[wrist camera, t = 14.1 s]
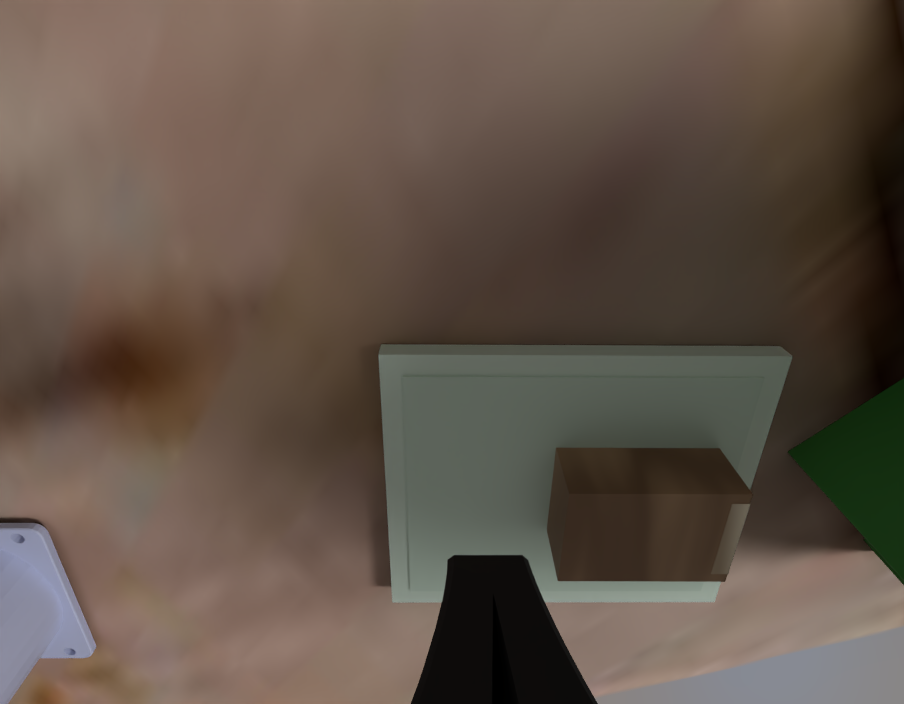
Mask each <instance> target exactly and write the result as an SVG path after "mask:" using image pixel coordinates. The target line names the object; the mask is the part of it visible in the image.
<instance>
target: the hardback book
mask: <svg viewBox="0 0 904 704" xmlns="http://www.w3.org/2000/svg"><path fill="white" fill-rule="evenodd" d="M788 453H789V454H790V455H791V456H792V458H793V459H794V460H795V461H796V462H797V463H798V465H799V466H800V467H801V468H802V469H803V470H804V471H805V472H806V473H807V475H808V476H809V477H810V478H811V479H812V480H813V481H814V482H815V483H816V485H817V486H818V487H819V488H820V489H821V490H822V491H823V492H824V493H825V494H826V496H827V497H828V498H829V499H830V500H831V501H832V502H833V503H834V504H835V506H836V507H837V508H838V509H839V510H840V511H841V512H842V513H843V514H844V516H845V517H846V518H847V519H848V520H849V521H850V522H851V523H852V524H853V525H854V527H855V528H856V529H857V530H858V531H859V532H860V533H861V534H862V535H863V537H864V538H865V539H864V541H865V542H866V543H867V544H868V546H869V547H870V548H871V549H872V550H873V551H874V552H875V554H876V555H877V556H878V557H879V558H880V559H881V560H882V561H883V562H884V564H885V565H886V566H887V567H888V568H889V569H890V570H891V571H892V572H893V574H894V575H895V576H896V577H897V578H898V579H899V580H900V581H901V582H902V584H903V585H904V378H903V379H902V380H900V381H899V382H897V383H895V384H894V385H892V386H891V387H889V388H887V389H886V390H884V391H883V392H881V393H880V394H878V395H876V396H875V397H873V398H872V399H870V400H869V401H867V402H865V403H864V404H862V405H861V406H859V407H858V408H856V409H854V410H853V411H851V412H850V413H848V414H846V415H845V416H843V417H842V418H840V419H839V420H837V421H835V422H834V423H832V424H831V425H829V426H828V427H826V428H824V429H823V430H821V431H820V432H818V433H817V434H815V435H813V436H812V437H810V438H809V439H807V440H806V441H804V442H802V443H801V444H799V445H798V446H796V447H794V448H793V449H791V450H790V451H788Z"/></svg>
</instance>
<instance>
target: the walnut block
mask: <svg viewBox="0 0 904 704" xmlns="http://www.w3.org/2000/svg"><path fill="white" fill-rule="evenodd" d="M752 497H753V494H752V492H751V491H750V489H749V488H748V487H747V485H746V484H745V483H744V481H743V480H742V478H741V477H740V476H739V474H738V473H737V472H736V470H735V469H734V467H733V466H732V465H731V463H730V462H729V460H728V459H727V458H726V456H725V455H724V454H723V452H722V451H721V449H720V448H556V452H555V461H554V470H553V479H552V487H551V496H550V505H549V514H548V523H547V534H548V538H549V543H550V548H551V552H552V557H553V562H554V566H555V571H556V576H557V580H558V581H659V582H725V580H726V577H727V574H728V572H729V569H730V566H731V563H732V560H733V557H734V554H735V551H736V548H737V544H738V541H739V538H740V535H741V532H742V529H743V526H744V523H745V520H746V517H747V514H748V510H749V507H750V503H751V500H752Z"/></svg>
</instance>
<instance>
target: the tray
mask: <svg viewBox="0 0 904 704" xmlns="http://www.w3.org/2000/svg"><path fill="white" fill-rule="evenodd" d="M378 356H379V374H380V391H381V409H382V427H383V445H384V462H385V480H386V498H387V516H388V533H389V551H390V569H391V587H392V602H442V599H443V594H444V589H445V582H446V576H447V560H448V559H449V558H451V557H452V556H453V555H523V556H524V557H525V558H526V559H528V561H529V564H530V567H531V570H532V573H533V575H534V578H535V580H536V583H537V585H538V588H539V590H540V593H541V595H542V597H543V599H544V602H715V599H716V596H717V593H718V589H719V586H720V583H721V582H659V581H558V580H557V576H556V571H555V566H554V562H553V557H552V552H551V548H550V543H549V538H548V534H547V523H548V514H549V505H550V496H551V487H552V479H553V470H554V461H555V452H556V448H720V449H721V451H722V452H723V454H724V455H725V456H726V458H727V459H728V460H729V462H730V463H731V465H732V466H733V467H734V469H735V470H736V472H737V473H738V474H739V476H740V477H741V478H742V480H743V481H744V483H745V484H746V485H747V487H748V488H749V489H751V486H752V483H753V480H754V476H755V473H756V470H757V467H758V464H759V461H760V458H761V454H762V451H763V448H764V445H765V442H766V439H767V436H768V433H769V429H770V426H771V423H772V420H773V417H774V414H775V411H776V407H777V404H778V401H779V398H780V395H781V392H782V389H783V385H784V382H785V379H786V376H787V373H788V370H789V367H790V363H791V360H792V357H793V356H792V355H790V354H789V353H788V352H787V351H786V350H784V349H783V348H782V347H781V346H661V345H436V344H381V346H380V350H379V354H378Z"/></svg>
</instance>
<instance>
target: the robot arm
mask: <svg viewBox="0 0 904 704" xmlns="http://www.w3.org/2000/svg"><path fill="white" fill-rule="evenodd" d="M95 648H96V644H95V642H94V639H93V637H92V634H91V632H90V630H89V627H88V625H87V623H86V620H85V618H84V615H83V613H82V611H81V608H80V606H79V604H78V601H77V599H76V597H75V594H74V592H73V589H72V587H71V585H70V582H69V580H68V578H67V575H66V573H65V571H64V568H63V566H62V563H61V561H60V559H59V556H58V554H57V552H56V549H55V547H54V544H53V542H52V540H51V537H50V535H49V533H48V531H47V529H46V528H45V527H44V526H42V525H40V524H37V523H0V704H8V703H9V701H10V700H11V698H12V697H13V696H14V694H15V693H16V691H17V690H18V688H19V687H20V686H21V684H22V683H23V681H24V680H25V678H26V677H27V676H28V674H29V673H30V671H31V670H32V668H33V667H34V665H35V664H36V663H37V661H38V660H39V658H87V657H89V656H91V655H92V653H93V652H94V650H95ZM411 704H598V703H597V702H596V700H595V698H594V696H593V695H592V693H591V691H590V689H589V688H588V686H587V684H586V682H585V681H584V679H583V677H582V675H581V673H580V671H579V669H578V668H577V666H576V664H575V662H574V660H573V658H572V656H571V655H570V653H569V651H568V649H567V647H566V645H565V643H564V641H563V639H562V637H561V635H560V633H559V631H558V629H557V627H556V625H555V623H554V621H553V619H552V617H551V615H550V613H549V610H548V608H547V606H546V604H545V602H544V599H543V597H542V595H541V593H540V590H539V588H538V585H537V583H536V580H535V578H534V575H533V573H532V570H531V567H530V564H529V561H528V559H526V558H525V557H524V556H523V555H453V556H452V557H451V558H449V559H448V560H447V576H446V582H445V589H444V594H443V599H442V604H441V608H440V612H439V616H438V620H437V625H436V628H435V632H434V635H433V638H432V642H431V645H430V648H429V652H428V655H427V658H426V662H425V665H424V668H423V671H422V674H421V677H420V680H419V683H418V686H417V688H416V691H415V694H414V697H413V699H412V702H411Z"/></svg>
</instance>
